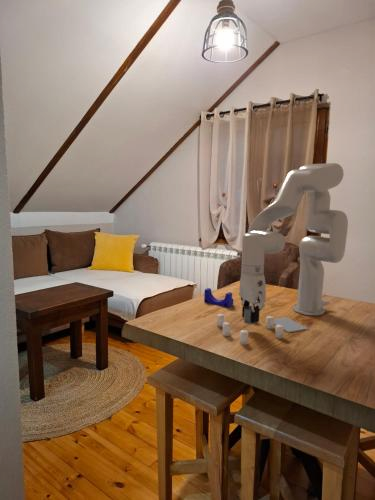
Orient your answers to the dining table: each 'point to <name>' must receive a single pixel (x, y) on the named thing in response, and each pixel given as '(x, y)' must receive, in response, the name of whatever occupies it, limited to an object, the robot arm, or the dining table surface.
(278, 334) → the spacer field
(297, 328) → the mat
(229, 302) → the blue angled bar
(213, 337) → the dining table surface
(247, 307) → the grey faceted polyhedron
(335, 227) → the robot arm
